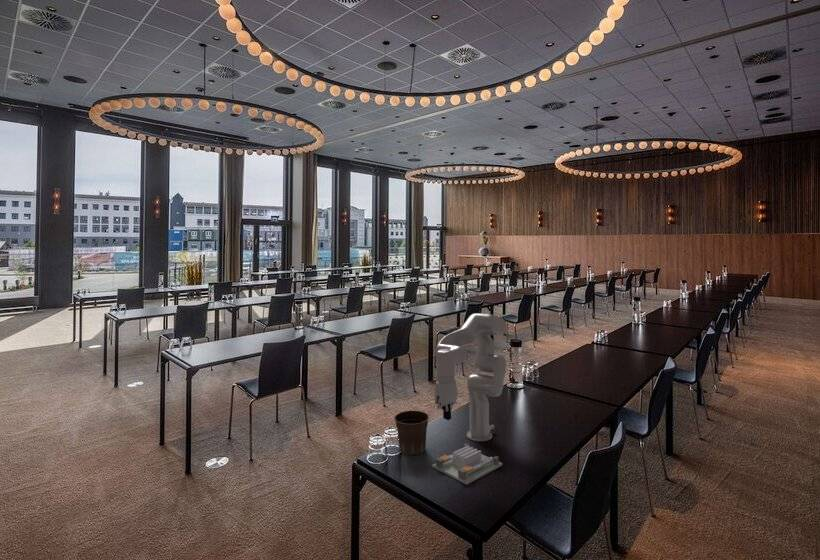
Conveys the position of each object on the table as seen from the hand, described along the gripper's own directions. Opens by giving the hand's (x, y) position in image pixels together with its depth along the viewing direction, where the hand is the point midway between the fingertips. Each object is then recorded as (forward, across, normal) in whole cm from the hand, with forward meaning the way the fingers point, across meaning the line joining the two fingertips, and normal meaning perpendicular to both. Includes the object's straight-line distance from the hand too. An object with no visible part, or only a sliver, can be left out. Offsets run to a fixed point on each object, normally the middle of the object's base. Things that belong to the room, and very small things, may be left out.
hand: (447, 418), depth 196 cm
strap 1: (+18, -4, +1) cm, 19 cm away
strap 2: (+18, -4, +14) cm, 23 cm away
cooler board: (+20, -4, +8) cm, 22 cm away
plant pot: (+20, +3, -20) cm, 29 cm away
